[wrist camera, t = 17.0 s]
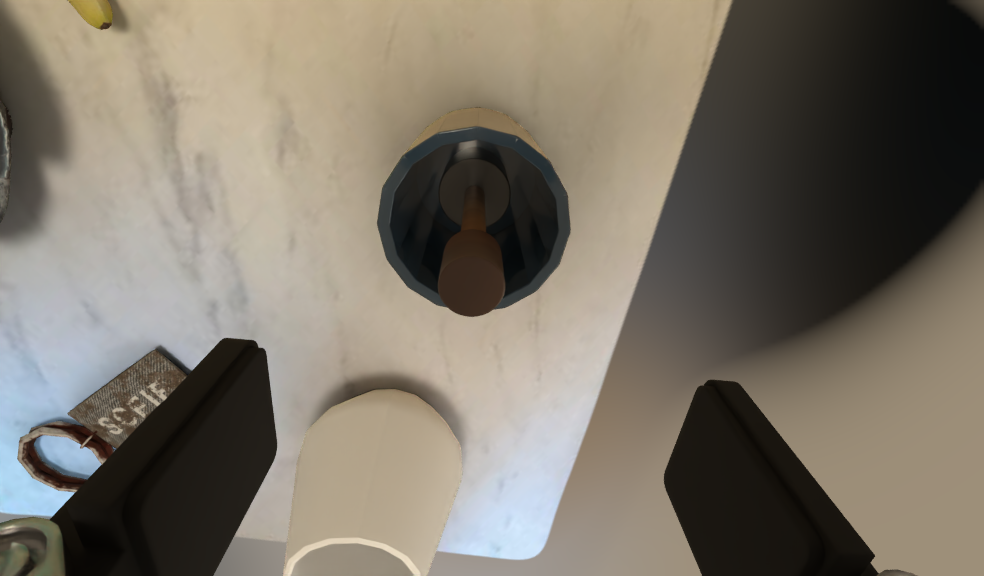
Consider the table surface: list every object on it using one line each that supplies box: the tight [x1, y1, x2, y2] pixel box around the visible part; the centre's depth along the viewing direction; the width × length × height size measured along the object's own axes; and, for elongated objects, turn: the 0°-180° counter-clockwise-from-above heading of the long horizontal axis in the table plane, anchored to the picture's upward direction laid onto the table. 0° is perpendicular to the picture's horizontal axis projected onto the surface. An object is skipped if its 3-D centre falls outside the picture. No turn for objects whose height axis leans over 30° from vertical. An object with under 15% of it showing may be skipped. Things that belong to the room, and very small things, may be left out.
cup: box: [283, 389, 463, 576], centre depth 36 cm, size 13×13×14 cm
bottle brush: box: [438, 148, 511, 317], centre depth 24 cm, size 4×4×17 cm
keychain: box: [17, 349, 188, 492], centre depth 40 cm, size 8×19×2 cm, turn 124°
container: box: [377, 107, 571, 310], centre depth 27 cm, size 9×9×11 cm
